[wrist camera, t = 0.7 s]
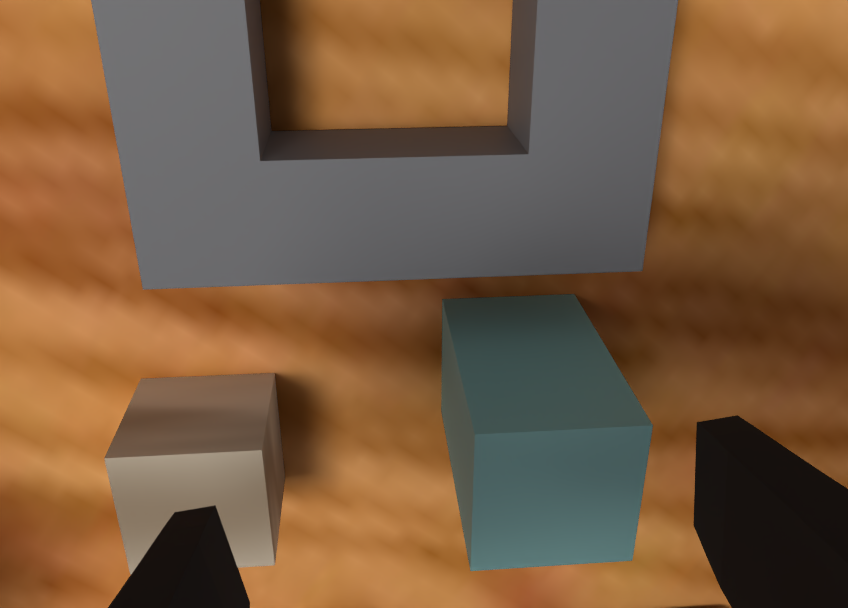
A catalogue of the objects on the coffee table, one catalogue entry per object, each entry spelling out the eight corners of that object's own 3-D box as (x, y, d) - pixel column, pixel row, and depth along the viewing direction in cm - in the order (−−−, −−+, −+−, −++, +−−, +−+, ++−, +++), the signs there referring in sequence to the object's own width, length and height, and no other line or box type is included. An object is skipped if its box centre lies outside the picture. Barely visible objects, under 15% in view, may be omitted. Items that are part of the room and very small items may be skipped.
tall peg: (564, 405, 22) (632, 560, 17) (441, 411, 22) (470, 570, 16) (574, 293, 21) (652, 425, 15) (442, 299, 20) (474, 434, 15)
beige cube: (285, 475, 22) (274, 565, 19) (161, 482, 22) (130, 574, 19) (274, 371, 21) (261, 450, 18) (141, 377, 21) (104, 458, 18)
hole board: (609, 231, 20) (642, 271, 18) (167, 246, 19) (143, 289, 17) (668, -307, 15) (724, -348, 13) (77, -319, 14) (25, -363, 12)
